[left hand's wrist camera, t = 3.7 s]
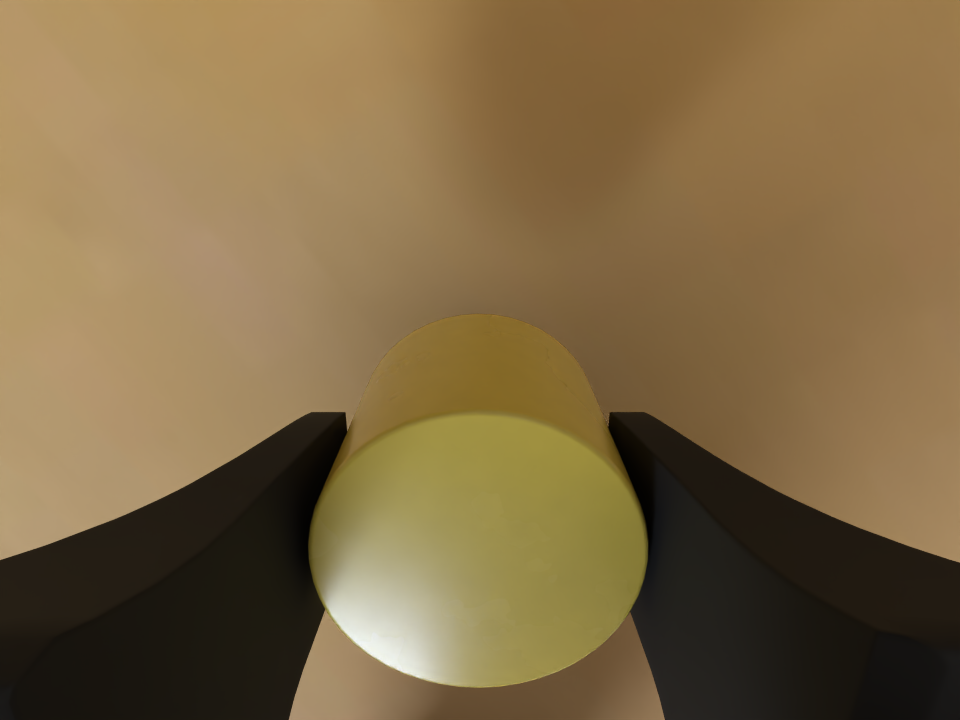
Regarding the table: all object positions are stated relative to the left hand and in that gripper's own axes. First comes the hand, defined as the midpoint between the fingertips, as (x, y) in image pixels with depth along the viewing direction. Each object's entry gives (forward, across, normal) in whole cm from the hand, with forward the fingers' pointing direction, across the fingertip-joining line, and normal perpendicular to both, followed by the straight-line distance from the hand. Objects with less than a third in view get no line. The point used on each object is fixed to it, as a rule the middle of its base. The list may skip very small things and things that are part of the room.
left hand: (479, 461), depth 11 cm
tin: (+1, 0, 0) cm, 1 cm away
